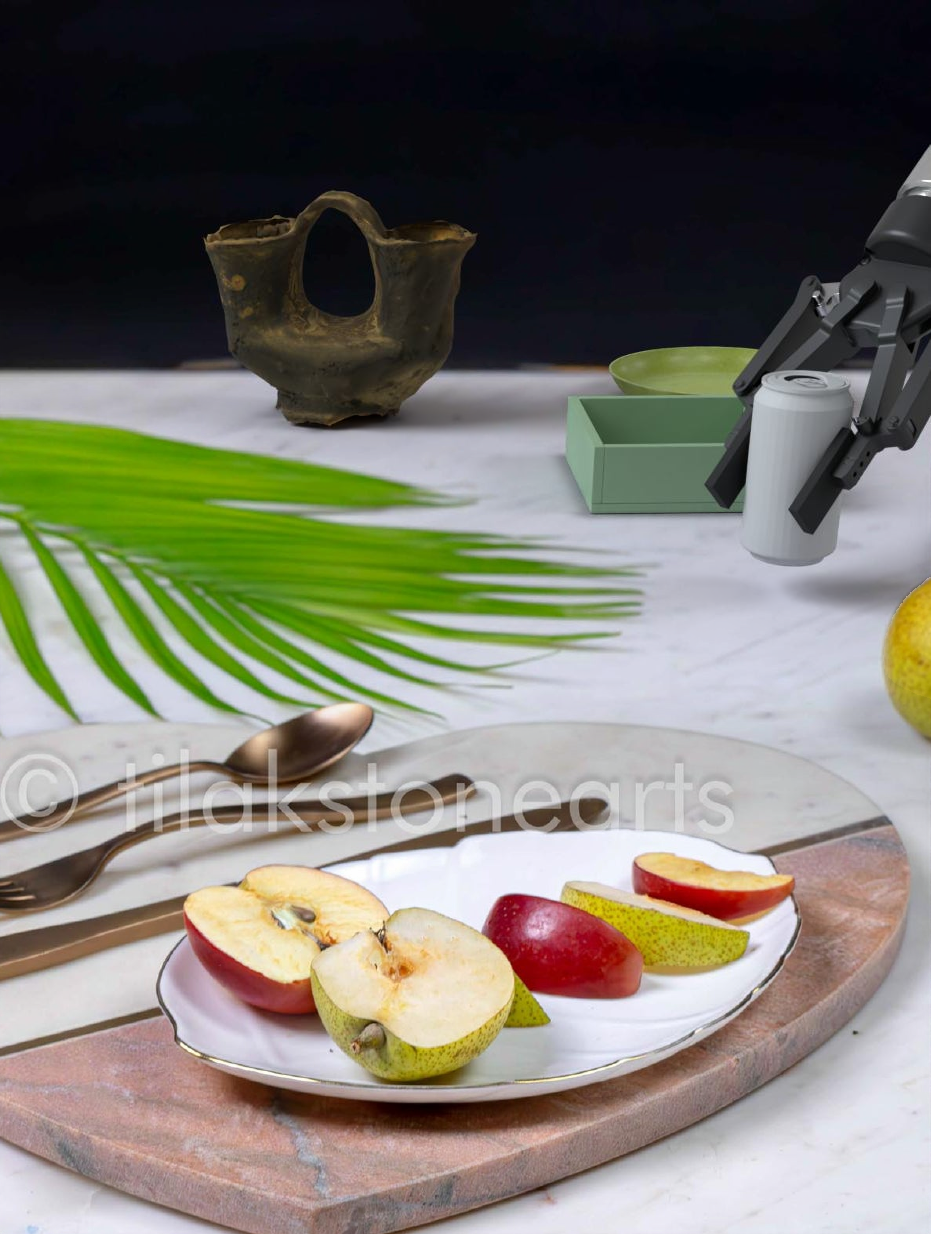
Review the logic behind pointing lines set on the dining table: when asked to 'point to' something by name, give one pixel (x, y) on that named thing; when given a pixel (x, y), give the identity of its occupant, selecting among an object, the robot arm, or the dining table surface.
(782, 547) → the beverage can
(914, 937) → the dining table surface
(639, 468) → the bin
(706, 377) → the saucer
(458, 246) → the pottery vessel
